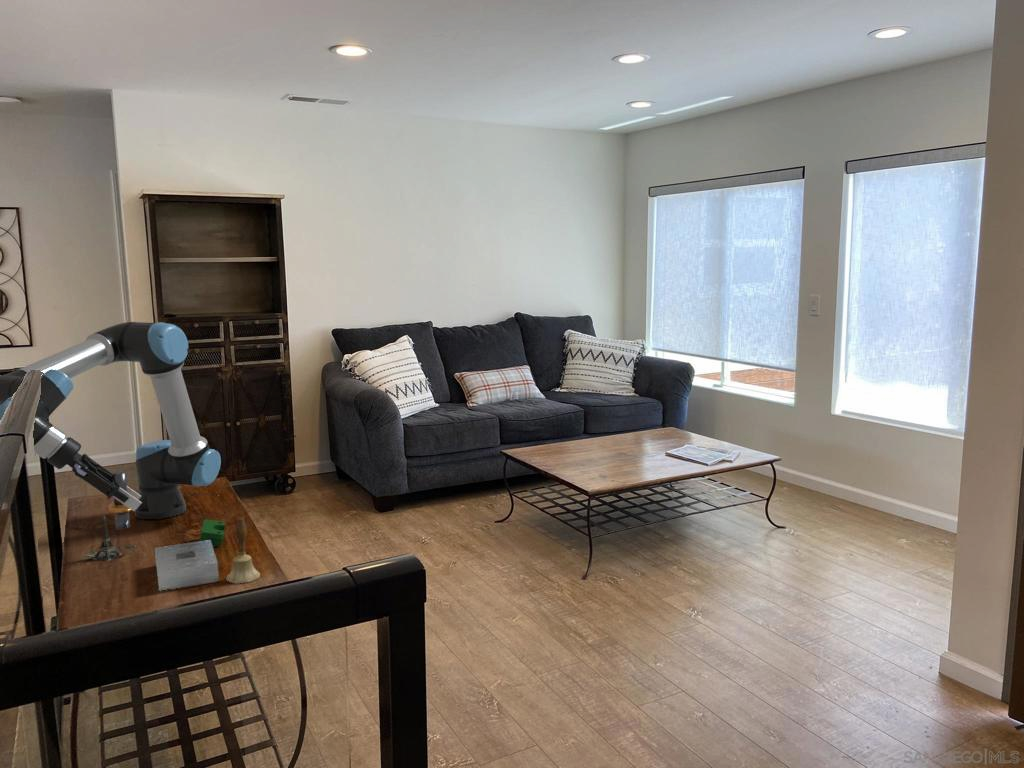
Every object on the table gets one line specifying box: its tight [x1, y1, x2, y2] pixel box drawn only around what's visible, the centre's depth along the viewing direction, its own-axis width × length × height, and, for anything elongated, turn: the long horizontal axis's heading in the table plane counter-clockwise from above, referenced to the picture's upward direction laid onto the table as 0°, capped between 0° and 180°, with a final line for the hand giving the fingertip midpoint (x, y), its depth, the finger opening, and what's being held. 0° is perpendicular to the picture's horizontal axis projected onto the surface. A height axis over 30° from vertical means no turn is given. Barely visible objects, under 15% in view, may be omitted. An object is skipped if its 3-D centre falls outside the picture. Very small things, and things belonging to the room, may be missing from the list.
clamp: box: [199, 518, 226, 548], centre depth 225 cm, size 12×6×9 cm, turn 12°
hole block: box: [154, 540, 220, 592], centre depth 204 cm, size 18×14×5 cm
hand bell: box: [226, 517, 261, 585], centre depth 201 cm, size 8×8×16 cm
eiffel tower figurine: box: [77, 515, 137, 568], centre depth 215 cm, size 15×10×13 cm
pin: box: [108, 470, 132, 530], centre depth 196 cm, size 6×6×14 cm
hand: (137, 503), depth 198 cm, fingers closed on pin, 5 cm apart
